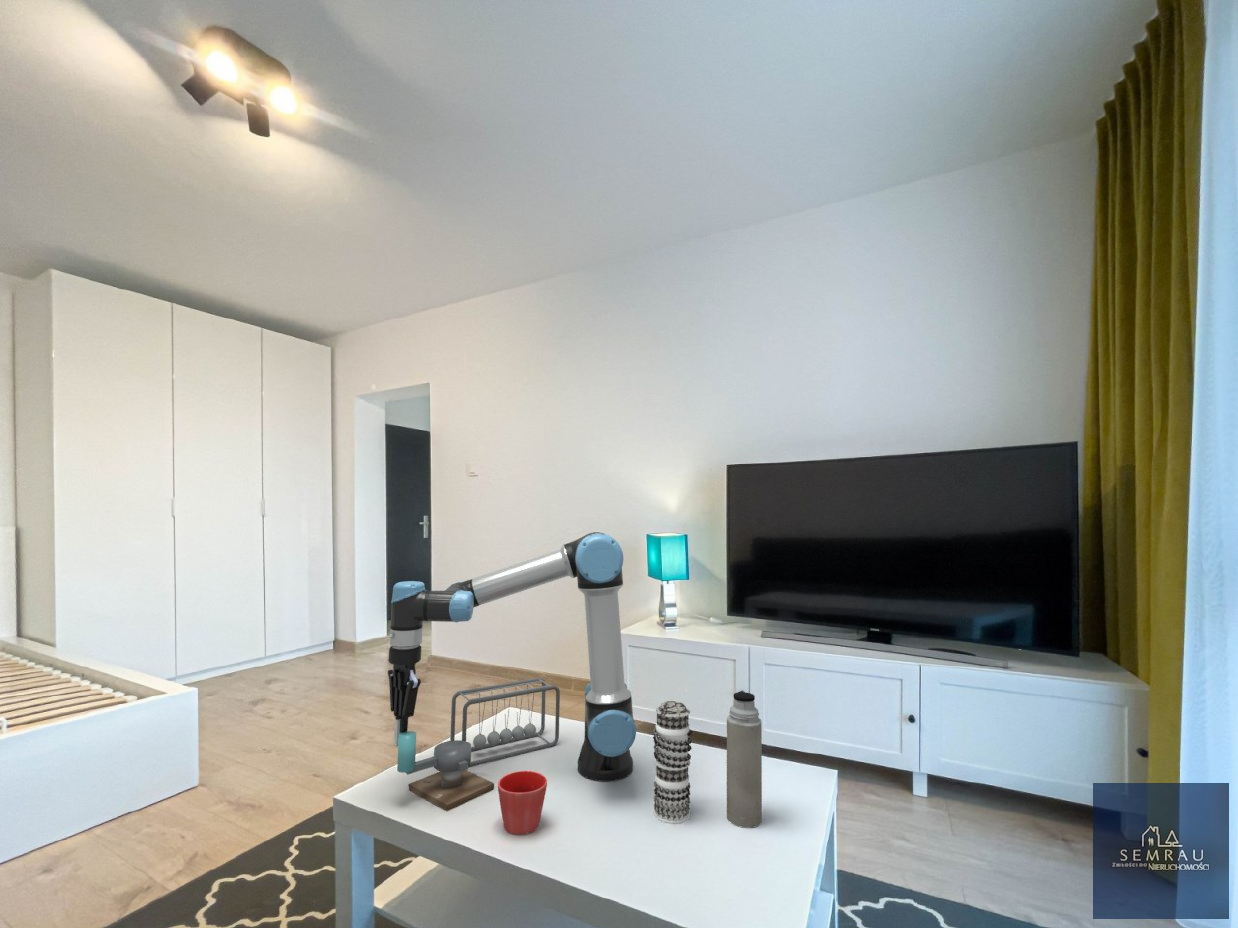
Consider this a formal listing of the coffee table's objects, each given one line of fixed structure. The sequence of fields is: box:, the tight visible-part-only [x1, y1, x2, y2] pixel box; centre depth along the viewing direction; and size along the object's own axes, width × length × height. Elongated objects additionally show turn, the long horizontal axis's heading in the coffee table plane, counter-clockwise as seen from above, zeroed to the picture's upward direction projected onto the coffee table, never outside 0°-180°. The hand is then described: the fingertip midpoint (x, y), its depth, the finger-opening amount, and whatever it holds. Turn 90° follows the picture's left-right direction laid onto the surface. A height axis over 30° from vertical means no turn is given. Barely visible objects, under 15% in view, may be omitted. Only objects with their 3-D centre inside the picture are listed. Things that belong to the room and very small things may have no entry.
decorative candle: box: [652, 700, 693, 825], centre depth 137 cm, size 9×9×25 cm
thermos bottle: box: [726, 691, 763, 828], centre depth 136 cm, size 8×8×28 cm
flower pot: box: [497, 770, 548, 836], centre depth 131 cm, size 11×11×10 cm
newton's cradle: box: [449, 677, 561, 768], centre depth 171 cm, size 30×10×18 cm, turn 124°
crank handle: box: [396, 730, 472, 775], centre depth 144 cm, size 18×12×10 cm, turn 133°
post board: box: [408, 769, 495, 812], centre depth 147 cm, size 16×14×6 cm
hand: (400, 744), depth 142 cm, fingers closed
